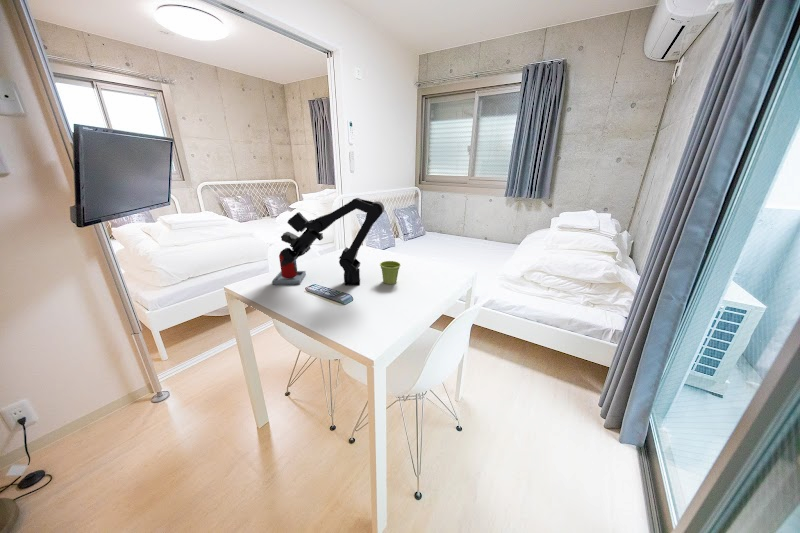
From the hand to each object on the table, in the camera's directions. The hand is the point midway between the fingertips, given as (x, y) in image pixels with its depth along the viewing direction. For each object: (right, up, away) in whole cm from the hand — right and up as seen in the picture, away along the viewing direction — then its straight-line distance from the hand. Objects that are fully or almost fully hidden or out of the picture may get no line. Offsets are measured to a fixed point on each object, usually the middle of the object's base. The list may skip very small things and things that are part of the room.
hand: (285, 262), depth 123 cm
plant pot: (+47, -9, +3) cm, 48 cm away
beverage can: (+1, -7, +2) cm, 7 cm away
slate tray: (+1, -8, +3) cm, 8 cm away
